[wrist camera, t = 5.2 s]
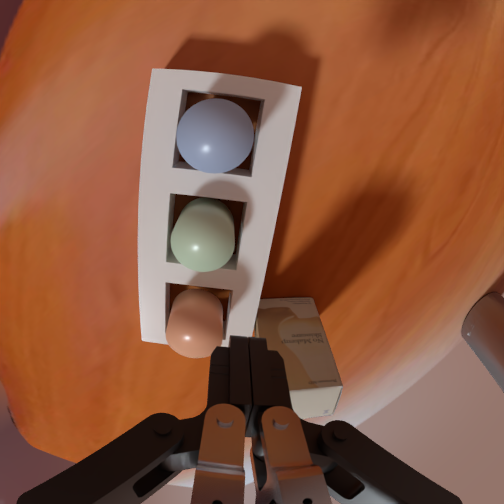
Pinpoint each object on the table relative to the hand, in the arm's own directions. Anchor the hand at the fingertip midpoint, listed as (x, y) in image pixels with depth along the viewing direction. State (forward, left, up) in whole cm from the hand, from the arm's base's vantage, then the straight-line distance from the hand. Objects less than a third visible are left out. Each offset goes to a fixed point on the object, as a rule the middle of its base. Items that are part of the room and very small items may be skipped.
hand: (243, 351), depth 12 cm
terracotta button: (+2, +8, -14) cm, 16 cm away
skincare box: (-6, +10, -16) cm, 20 cm away
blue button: (+2, -8, -14) cm, 16 cm away
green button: (+3, 0, -15) cm, 15 cm away
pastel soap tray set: (+3, 0, -16) cm, 16 cm away
